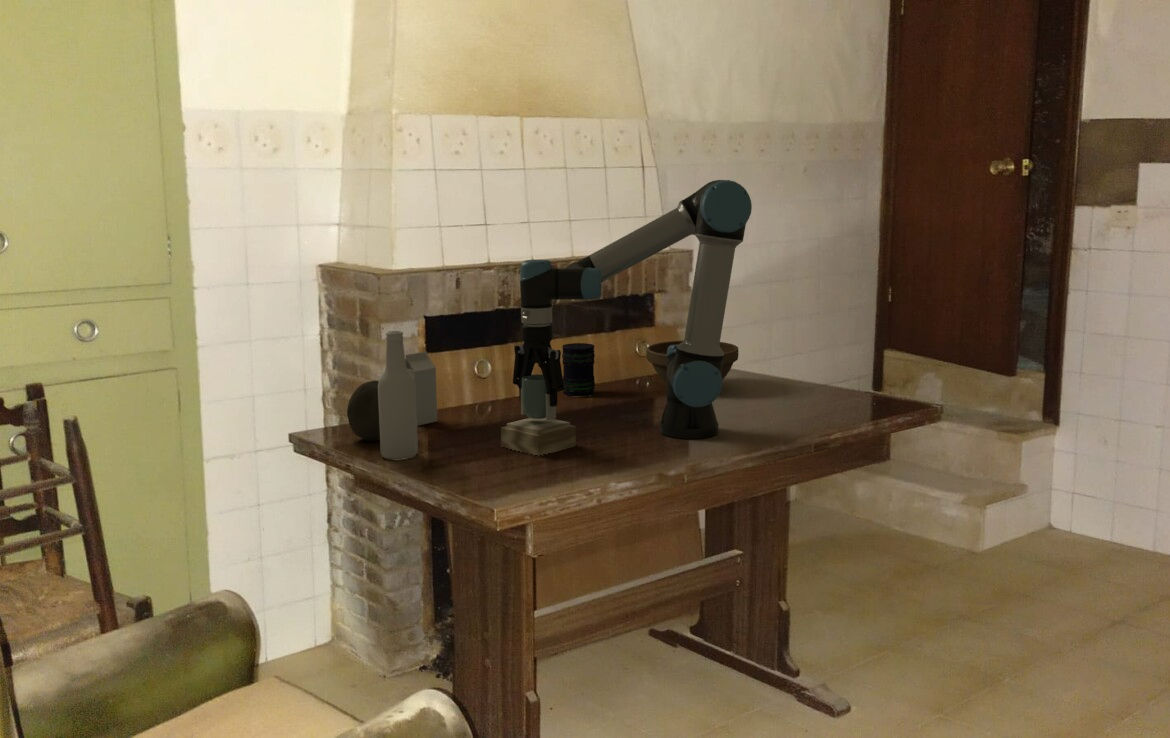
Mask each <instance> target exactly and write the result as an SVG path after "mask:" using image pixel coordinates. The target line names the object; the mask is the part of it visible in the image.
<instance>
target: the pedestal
mask: <svg viewBox="0 0 1170 738" xmlns="http://www.w3.org/2000/svg"><path fill="white" fill-rule="evenodd" d="M576 428H577V426H576V425H572V424H571V422H569V421H564V420H560V419H557V418H555V419H551V420H546V418H543V419H533V418H529V417H528V418H523V419H519V420H516V421H511V422H507V423H506V426H501V427H500V446H501V448H502V447H505V448H504V449H506V448H508V449H507V450H510V449H512V450H511V451H514V450H516V451H515V452H518V451H520V452H519V453H522V452H524V453H523V454H526V453H528V454H527V455H530V454H533V455H532V456H534V455H538V456H539V455H542V456H544V455H543V454H546V455H549V454H548V453H550V454H552V453H558V452H559V451H563V450H566V449H567V450H568V449H570V448H574V447H576V446H577V441H576V440H577V434H576V433H577V429H576ZM538 456H537V457H538ZM539 457H540V456H539Z"/></svg>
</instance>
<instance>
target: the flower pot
mask: <svg viewBox="0 0 1170 738" xmlns="http://www.w3.org/2000/svg"><path fill="white" fill-rule="evenodd" d="M683 341H684V340H671V341H670V340H669V341H663V342H658V343H653V344H650V345H649V346H647V347H646V351H645V352H646V360H647V362H649V363H651V366H652V367H653V369H654V371H655V372H656V374H658V375H657V376H659V378H660V379H661V380H662V381H663V382H664V383H665V384H666V385H667V358H666V355H667V350H668V347H669V346H670V345H679V344H680V343H682V342H683ZM719 346H720V348H721V349H722V351H723V352H724V359H723V365H722V371H721V375H722V381H724V379H725V378H726V377H727V375H728V374H729V372H730V371H731V369H732V367H733V364H734V363H735V362H737V361H738V360H739V347H738V346H737V345H735V344H732V343H728V342H722V341H720V344H719Z"/></svg>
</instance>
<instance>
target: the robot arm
mask: <svg viewBox="0 0 1170 738" xmlns="http://www.w3.org/2000/svg"><path fill="white" fill-rule="evenodd" d="M752 206H753V205H752V199H751V196H750V194H749V193H748V191H747V190H746V188H745V187H744V186H742V185H741V184H740V183H738V182H736V181H734V180H729V179H716V180H712V181H709V182H707V183H706V184H704V185H703V186H701V187H700V188H699V189H698V190H696V191H695V192H693V193H692V194H690V195H688V197H687V196H686V198H684V199H682V200H680V201H679V202H678V204H677V207H675V209H672V210H670V211H668V212H667V213H665V214H663V215H661V216H659V217H657V218H655V219H653V220H652V221H650V222H648V223H645V225H642V226H641V227H639V228H637V229H635V230H634V231H631V232H630V233H628V234H626V235H623V237H621V238H619V239H617V240H615V241H613V242H611V243H609V244H608V245H607V244H606V246H604V247H602V248H600V249H598V250H596V251H594V252H593V253H591V254H589V255H587V256H586V257H584V258H582V259H580V260H578V261H575V262H572V263H570V264H568V265H567V266H566V268H558V267H557V268H555V267H553V265H552V262H551V260H548V259H527V260H524V261H522V262H521V263H520V272H519V275H520V278H519V285H520V287H519V288H520V315H521V316H520V320H521V323H522V325H521V329H520V331H521V334H520V335H521V341H522V342H523V344H518V345H514V349H513V350H514V364H513V373H512V374H513V375H512V384H513V385H516V386H517V387H518V390H519V391H518V392H519V394H518V395H519V401H520V415H521V416H525V415H526V414H525V412H524V409H523V402H522V377H524V376H530V375H533V370H534V368H535V365H536V364H537V366H538V367H539V369H540V370H541V374H543V377H544V380H545V383H546V387H547V390H548V392H546V420H551V419H557V405H558V393H560V392H562V391H563V390H564V385H563V371H562V364H561V357H562V356H561V355H562V351H561V350H560V349H557V350H556V349H553V348H552V345H551V342H552V340H553V335H554V334H553V325H552V323H553V301H554V300H555V301H556V300H557V301H558V300H575V301H576V300H578V301H579V300H585V301H590V300H599V299H600V298H601V297H602V283H604V282H605V281H607V280H609V279H611V278H612V277H614V276H616V275H618V274H620V273H622V272H624V271H625V270H628V269H629V268H632V267H633V266H636V265H637V264H639V263H641V262H642V261H644V260H646V259H648V258H650V257H652V256H654V255H657V254H658V253H659V252H661V251H663V250H666V249H667V248H669V247H671V246H673V245H675V244H676V243H678V242H680V241H682V240H683V239H686V238H687V237H690V236H695V237H696V238H697V240H698V242H699V243H698V252H697V256H696V257H697V258H696V263H695V269H694V276H693V282H692V289H691V295H690V302H689V306H688V307H689V308H688V314H687V319H686V326H685V333H684V340H682V341H683V342H682V343H680V344H679V345H670V346H669V347H668V350H667V355H666V358H667V384H666V403H665V406H664V410H663V412H662V416H661V420H660V422H659V433H660V434H662V435H663V436H666V437H671V438H675V439H687V440H688V439H689V440H690V439H691V440H692V439H697V438H698V439H707V438H712V437H714V436H716V435H718V434H719V422H718V420H717V415H716V413H715V408H714V406H713V402H714V401H716V400H717V399H718V397H719V396H720V394H721V392H722V388H723V384H724V383H723V380H722V375H721V371H722V365H723V359H724V352H723V351H722V349H721V348H720V346H719V344H720V342H721V338H722V330H723V326H724V325H723V324H724V320H725V319H724V318H725V314H726V313H725V312H726V307H727V302H728V294H729V288H730V282H731V276H732V270H733V265H734V258H735V252H736V248H737V246H739V245H740V244H742V243H743V242H744V237H745V231H746V227H747V223H748V221H749V219H750V217H751V215H752V208H753V207H752ZM552 387H553V388H552Z"/></svg>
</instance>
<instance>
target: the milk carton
mask: <svg viewBox="0 0 1170 738" xmlns="http://www.w3.org/2000/svg"><path fill="white" fill-rule="evenodd" d="M405 363H406V368H407V370H408V372H409V373H410V374H411V375H412V376H413V378H414V381H415V385H416V412H417V427H418V426H422V425H426V424H430V423H435V422H438V404H437V403H438V402H437V401H438V400H437V399H438V398H437V372H436V371H437V368H436V366H435V364H434V363H433V361H432V360H431V359H430V357H429V356H428V351H421V352H415V353H410V354H409V353H408V354H406V355H405Z"/></svg>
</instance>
